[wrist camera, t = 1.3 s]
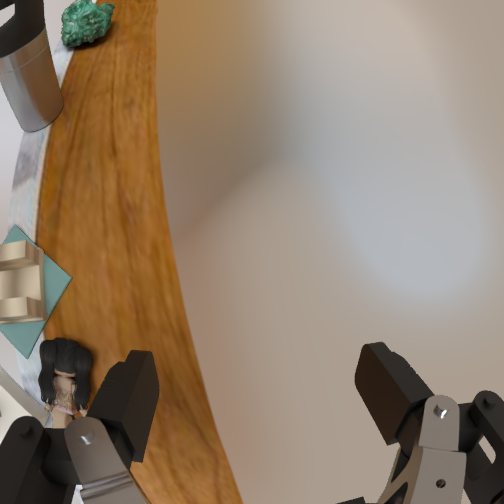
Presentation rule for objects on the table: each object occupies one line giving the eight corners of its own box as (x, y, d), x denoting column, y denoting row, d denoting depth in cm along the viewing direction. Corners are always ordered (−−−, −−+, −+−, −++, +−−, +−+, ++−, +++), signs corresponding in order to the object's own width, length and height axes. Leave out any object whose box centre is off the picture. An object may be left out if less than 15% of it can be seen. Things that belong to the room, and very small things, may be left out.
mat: (-25, 298, 23) (-27, 297, 23) (16, 225, 28) (14, 224, 28) (28, 358, 24) (26, 359, 24) (72, 278, 29) (71, 277, 29)
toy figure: (101, 450, 24) (99, 343, 28) (85, 471, 18) (76, 347, 22) (56, 435, 23) (52, 331, 27) (34, 450, 17) (25, 332, 21)
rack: (-7, 324, 23) (-29, 322, 18) (-9, 260, 25) (-29, 249, 20) (47, 320, 26) (28, 317, 21) (43, 250, 28) (25, 237, 23)
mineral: (44, 44, 37) (39, 15, 27) (93, 17, 43) (92, -11, 33) (77, 60, 38) (72, 24, 28) (132, 30, 44) (134, -3, 35)
